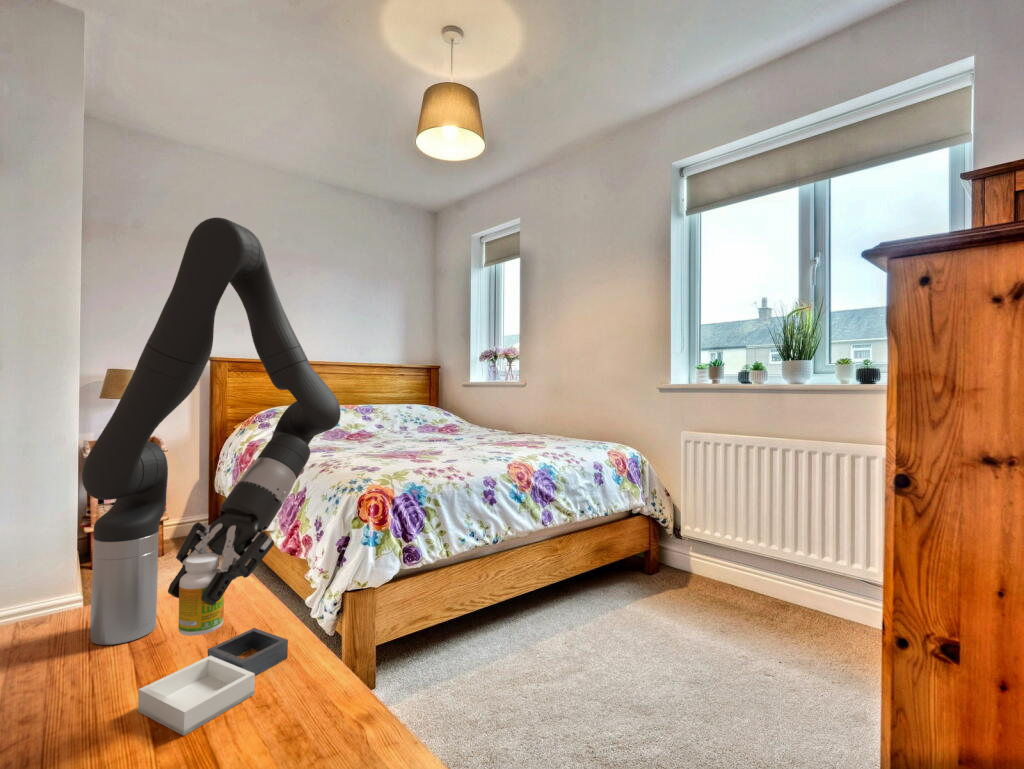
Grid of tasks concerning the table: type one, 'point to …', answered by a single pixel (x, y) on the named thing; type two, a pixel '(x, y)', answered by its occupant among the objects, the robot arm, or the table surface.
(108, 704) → the table surface
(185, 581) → the supplement bottle
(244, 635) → the holder sleeve
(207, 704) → the tray
